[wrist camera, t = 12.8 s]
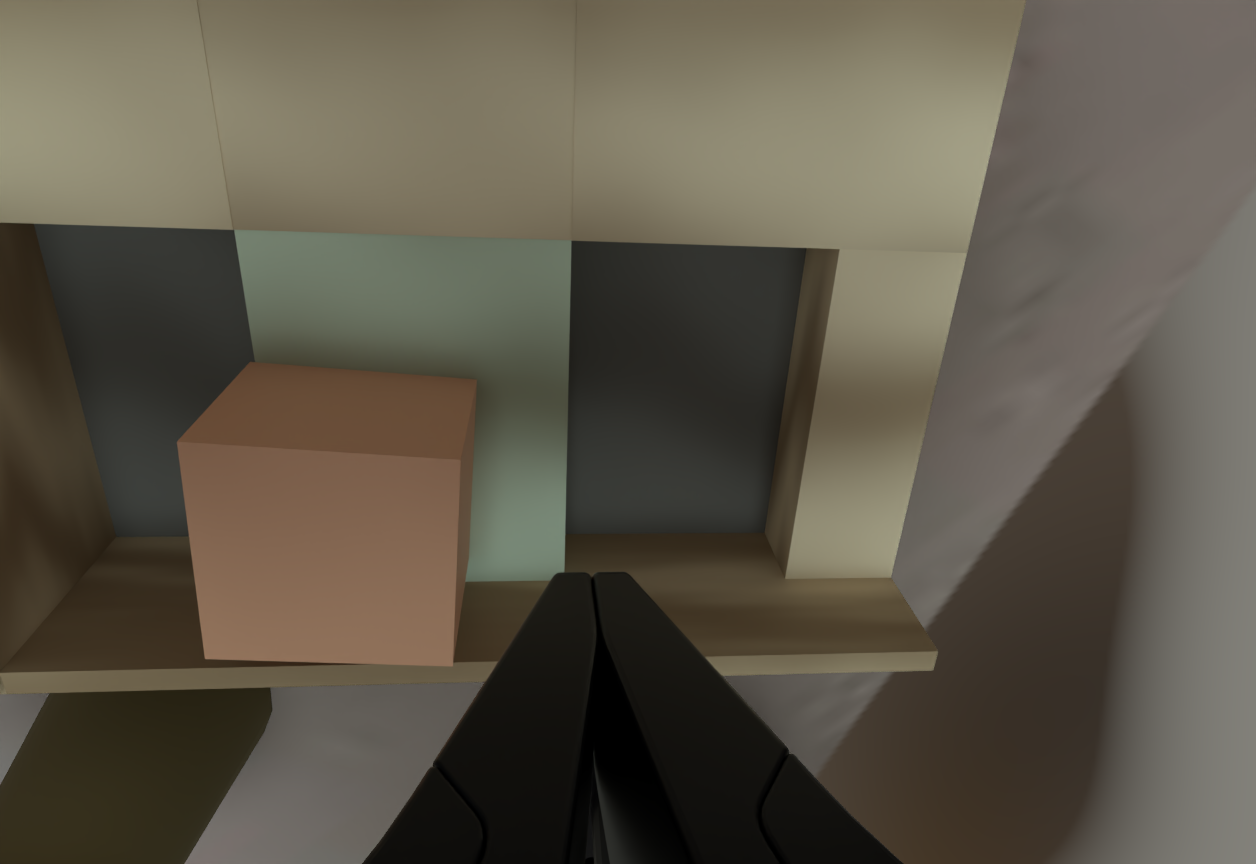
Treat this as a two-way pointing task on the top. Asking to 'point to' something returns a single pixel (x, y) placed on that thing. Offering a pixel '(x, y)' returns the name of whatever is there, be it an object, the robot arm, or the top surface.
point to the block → (331, 515)
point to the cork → (126, 774)
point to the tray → (491, 298)
